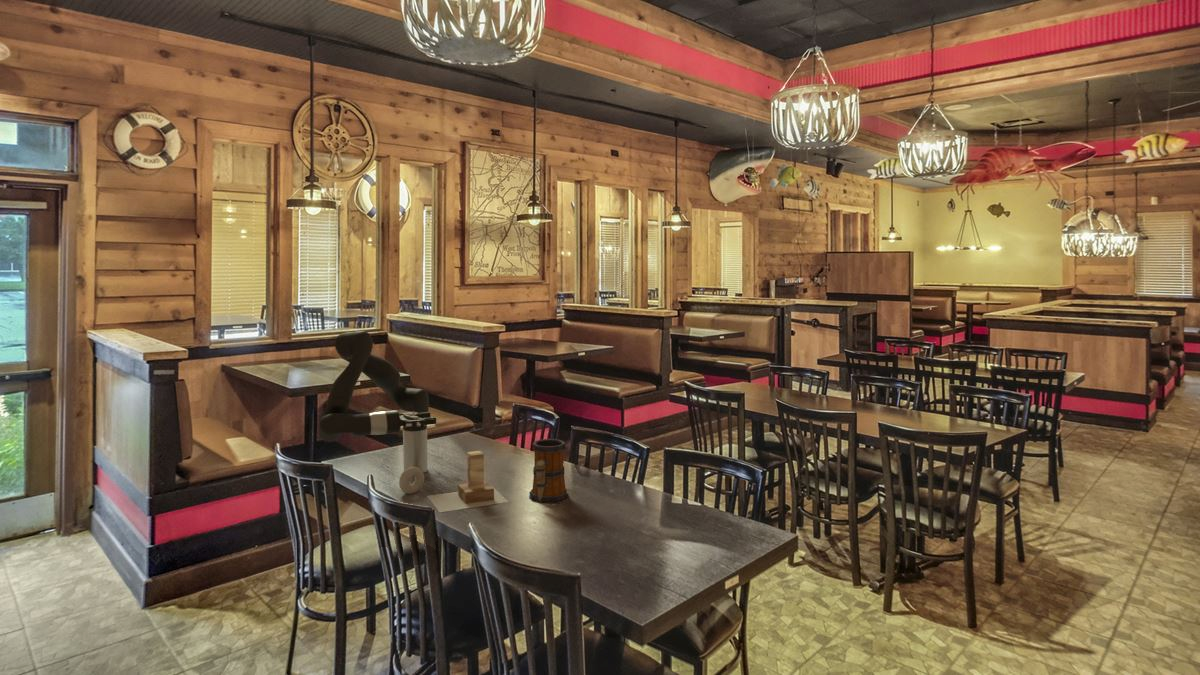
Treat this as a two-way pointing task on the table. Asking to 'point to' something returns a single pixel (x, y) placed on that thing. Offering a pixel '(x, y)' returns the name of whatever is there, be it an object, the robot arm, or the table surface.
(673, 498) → the table surface
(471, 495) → the walnut base
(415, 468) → the donut
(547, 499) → the mug
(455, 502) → the build mat
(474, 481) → the maple pillar
